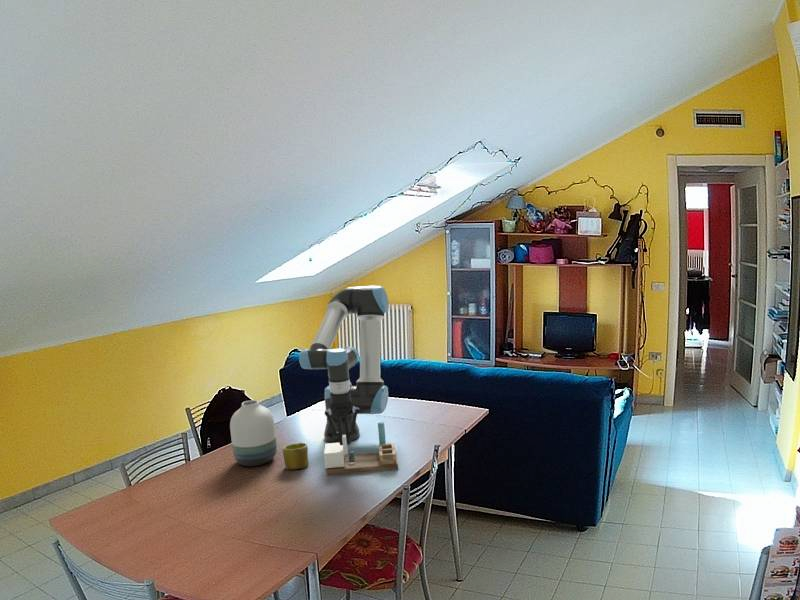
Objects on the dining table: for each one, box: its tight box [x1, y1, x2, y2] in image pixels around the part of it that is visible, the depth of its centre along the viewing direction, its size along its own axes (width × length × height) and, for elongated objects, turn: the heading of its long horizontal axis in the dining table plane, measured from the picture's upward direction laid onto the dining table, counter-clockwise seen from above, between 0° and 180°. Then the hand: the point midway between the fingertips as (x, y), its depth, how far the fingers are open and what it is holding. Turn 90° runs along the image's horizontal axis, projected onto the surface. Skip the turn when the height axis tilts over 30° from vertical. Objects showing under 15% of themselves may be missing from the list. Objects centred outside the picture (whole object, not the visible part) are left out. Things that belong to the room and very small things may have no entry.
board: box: [326, 442, 399, 477], centre depth 231 cm, size 13×26×6 cm, turn 93°
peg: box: [377, 421, 387, 445], centre depth 242 cm, size 2×2×12 cm
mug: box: [282, 441, 309, 471], centre depth 236 cm, size 12×10×10 cm
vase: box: [229, 399, 278, 467], centre depth 242 cm, size 17×17×24 cm
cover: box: [323, 442, 346, 469], centre depth 230 cm, size 10×7×6 cm
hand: (345, 452), depth 228 cm, fingers closed
